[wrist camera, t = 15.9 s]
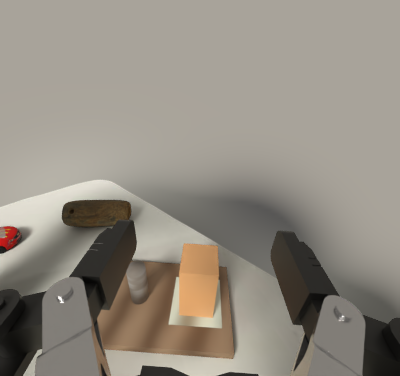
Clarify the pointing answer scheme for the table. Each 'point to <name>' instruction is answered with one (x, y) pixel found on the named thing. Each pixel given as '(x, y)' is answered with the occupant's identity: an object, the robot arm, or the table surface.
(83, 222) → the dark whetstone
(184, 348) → the board
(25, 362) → the robot arm
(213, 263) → the tall wooden pillar
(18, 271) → the table surface
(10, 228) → the race car
